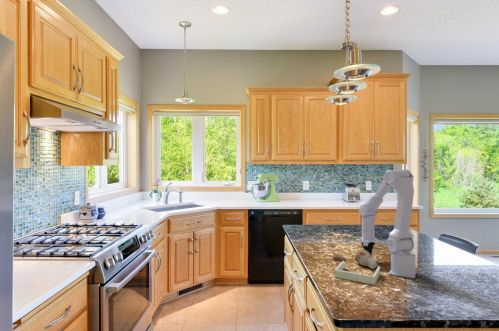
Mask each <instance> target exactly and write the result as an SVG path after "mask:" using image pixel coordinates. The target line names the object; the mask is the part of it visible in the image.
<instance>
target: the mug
mask: <svg viewBox="0 0 499 331" xmlns="http://www.w3.org/2000/svg"><path fill="white" fill-rule="evenodd" d="M354 260H355V261H356V262H357V264H358V265H360V266H366V267H368V268H369V269H371V270H373V269H377V268H378V267H380V266H379V264H378V262H377V261H376V260H375V259H374V258H373V256H372V255H370V253H369V252H368V251H366V250H364V248H362V249H358V250H357V251H356V253H355V256H354Z"/></svg>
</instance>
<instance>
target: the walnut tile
mask: <svg viewBox="0 0 499 331" xmlns="http://www.w3.org/2000/svg"><path fill="white" fill-rule="evenodd" d="M332 260H333V261H335V262H336V261H338V262H342V261H345V257H344V254H341V253H340V254H339V253H332Z"/></svg>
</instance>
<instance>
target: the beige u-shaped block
mask: <svg viewBox="0 0 499 331" xmlns="http://www.w3.org/2000/svg"><path fill="white" fill-rule="evenodd" d="M345 266H346V264H345V260H344V261H340V263H339V264H338V265H337V267H335V269H334V271H333V272H334V273H333V274H334V275H333V276H334V278H338V279H342V280H343V279H344V280H349V281H352V282H358V283H364V284H369V285H373V286H375V285H376V284H377V281H378V279H379V277H380V275H381V266H379V267H378V268H377V267H376V269H375V271H374V273H373V275H369V274H363V273H359V272H352V271H348V270H347V271H346V270H345V268H346V267H345Z"/></svg>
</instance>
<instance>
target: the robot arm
mask: <svg viewBox="0 0 499 331" xmlns="http://www.w3.org/2000/svg"><path fill="white" fill-rule="evenodd" d="M391 189H393V190H395V191H396V192H397V194H398V196H397V197H398V198H397V204H396V212H395V213H396V214H395V219H394V220H395V221H394V228H393V229H392V231H390V232H389V233H388V238H387V239H386V247H387V249H388V251H389V253H390V270H389V272H388V275H393V276H397V277H404V278H409V279H415V278H416V274H417V268H416V266H417V265H416V264H417V262H416V261H417V260H416V259H417V258H416V254H414V253H412V251H413V249H414V248H415V242H414V234H412V233H411V231H410V226H411V218H412V211H413V204H414V203H413V201H414V195H415V194H414V193H415V188H414V175H413V173H412V172H411V171H410V170H408V169H387V170H386V171H385V173H384V175H382V182H381V183H380V185H379V187H378V189H377V190H376V192H374V193H371V194H370V195H369V197H368V199H367V200H366V202H365V203H364V204H360V205H359V208H358V213H359V215H360V216H361V237H359V240H361V241H362V242H361V246H362V247H363V248H362V249H364V250H366V251H368V252H369V253H370V255H371V256H372V254H373V251H374V250H373V249H374V246H375V245H376V242H375V241H376V238H375V237H376V236H375V228H376V227H375V220H376V219H377V218H376V217H377V214H378V209H379V207H380V206H382V205H381V204H382V203H383V202H384V197H385V195H386V194H387V193H388V192H389V191H390V190H391Z"/></svg>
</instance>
